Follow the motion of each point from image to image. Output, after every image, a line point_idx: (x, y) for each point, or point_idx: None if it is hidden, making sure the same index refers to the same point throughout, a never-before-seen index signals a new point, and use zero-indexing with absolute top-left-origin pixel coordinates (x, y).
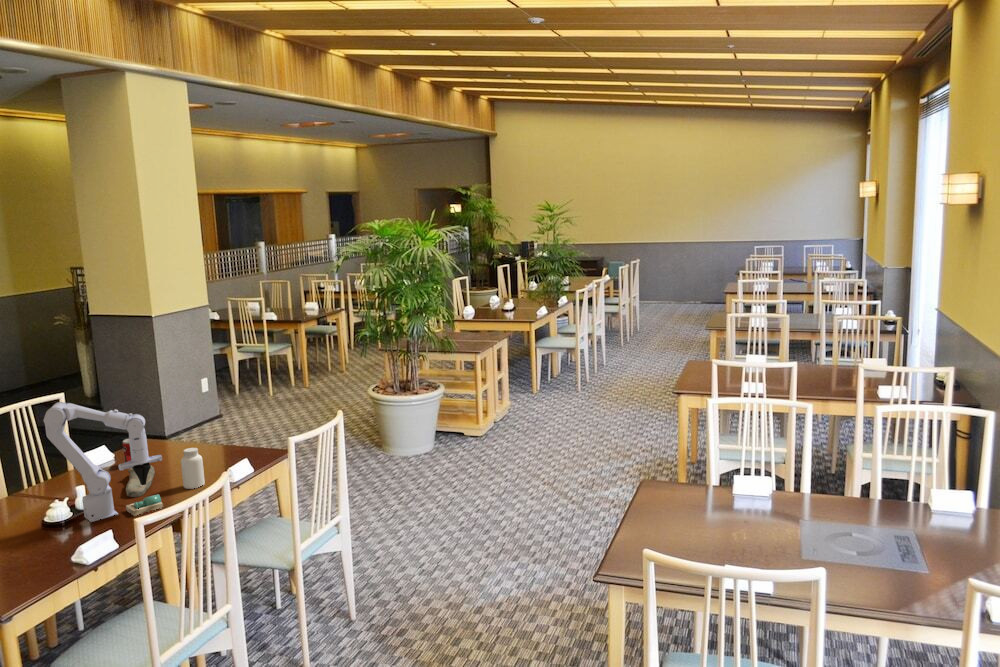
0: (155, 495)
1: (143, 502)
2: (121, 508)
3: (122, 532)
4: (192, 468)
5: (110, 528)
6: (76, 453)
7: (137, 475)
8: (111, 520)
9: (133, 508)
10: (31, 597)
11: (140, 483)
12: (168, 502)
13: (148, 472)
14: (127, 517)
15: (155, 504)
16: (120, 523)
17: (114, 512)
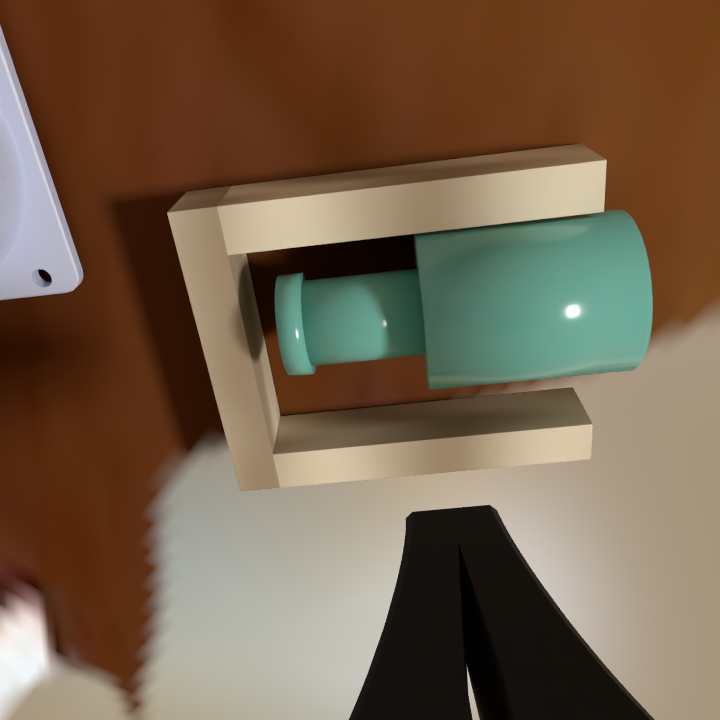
0: (593, 343)
1: (392, 356)
2: (123, 16)
3: (125, 706)
4: None
5: (24, 585)
6: None
7: (368, 713)
8: (15, 399)
9: (250, 404)
10: None
11: (407, 530)
12: (705, 266)
13: None
14: (182, 427)
15: (506, 450)
16: (110, 534)
17: (27, 215)
